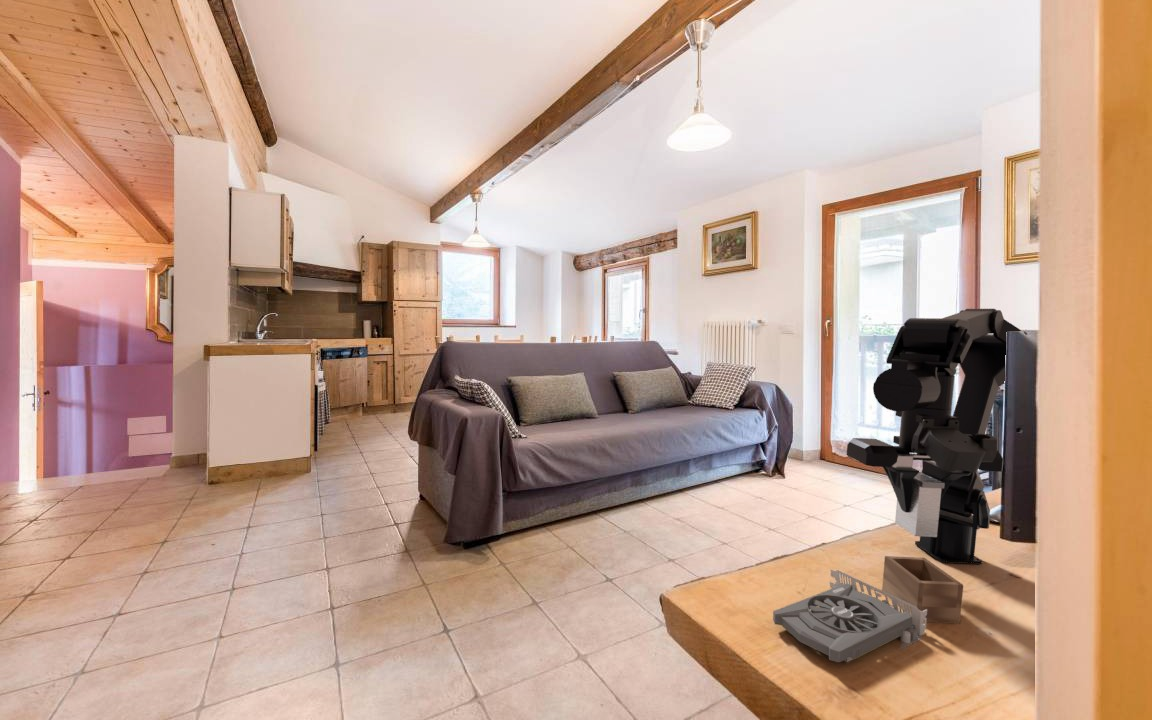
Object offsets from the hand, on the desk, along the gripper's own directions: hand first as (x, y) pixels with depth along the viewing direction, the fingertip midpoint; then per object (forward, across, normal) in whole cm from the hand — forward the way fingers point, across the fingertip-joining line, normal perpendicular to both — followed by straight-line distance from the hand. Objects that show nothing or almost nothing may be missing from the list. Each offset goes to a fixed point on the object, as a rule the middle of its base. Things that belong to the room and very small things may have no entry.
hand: (916, 512), depth 70 cm
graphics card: (+11, -17, -12) cm, 23 cm away
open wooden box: (+10, -4, -7) cm, 13 cm away
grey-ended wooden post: (+3, 0, 0) cm, 3 cm away
